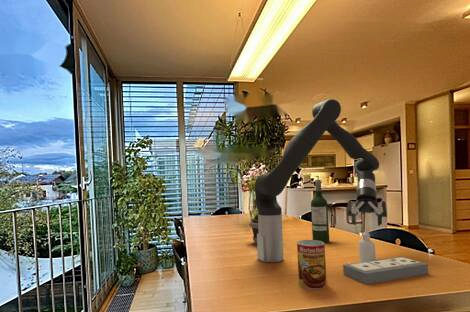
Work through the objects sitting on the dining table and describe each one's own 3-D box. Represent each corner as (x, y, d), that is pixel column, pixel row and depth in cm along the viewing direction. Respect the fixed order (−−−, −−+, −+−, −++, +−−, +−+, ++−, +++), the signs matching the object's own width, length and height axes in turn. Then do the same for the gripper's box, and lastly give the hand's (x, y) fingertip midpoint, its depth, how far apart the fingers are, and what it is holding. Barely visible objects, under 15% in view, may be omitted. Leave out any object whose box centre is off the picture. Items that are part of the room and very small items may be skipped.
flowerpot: (249, 240, 154) (248, 201, 156) (280, 240, 153) (278, 200, 155) (249, 246, 140) (248, 203, 141) (282, 246, 139) (281, 202, 140)
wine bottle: (313, 243, 144) (310, 180, 146) (312, 239, 152) (309, 179, 154) (330, 243, 143) (327, 179, 145) (328, 239, 150) (325, 179, 153)
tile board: (366, 284, 87) (365, 272, 87) (343, 274, 96) (343, 263, 97) (428, 273, 95) (427, 263, 95) (401, 265, 104) (401, 255, 104)
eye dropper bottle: (370, 262, 110) (368, 228, 110) (377, 266, 104) (375, 231, 105) (358, 262, 110) (356, 228, 111) (364, 266, 104) (362, 231, 105)
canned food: (302, 289, 84) (301, 246, 85) (295, 280, 92) (294, 240, 93) (330, 288, 84) (328, 244, 85) (321, 279, 92) (319, 239, 93)
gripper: (347, 186, 127) (345, 217, 116) (385, 185, 120) (387, 218, 109) (349, 198, 131) (347, 229, 120) (385, 198, 125) (388, 231, 114)
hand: (366, 224), depth 115 cm, fingers open, 8 cm apart
